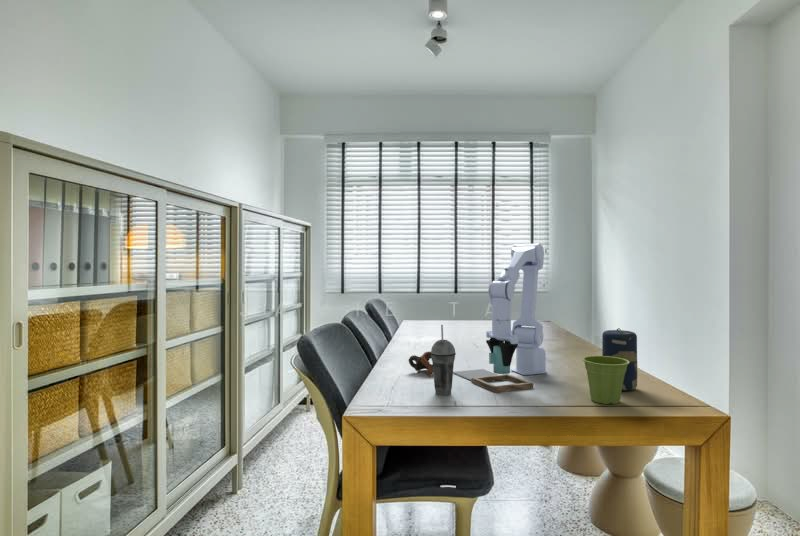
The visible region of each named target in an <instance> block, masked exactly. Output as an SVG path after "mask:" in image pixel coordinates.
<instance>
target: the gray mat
mask: <svg viewBox="0 0 800 536" xmlns="http://www.w3.org/2000/svg"><path fill="white" fill-rule="evenodd" d="M453 375H456V376H458V377H461V378H462V379H465V380H467V381H469V382H470V381H471V382H472V378H474V377H484V376H493V375H499V374H496V373H494V372H493V371H489V370H487V369H484V368H481V369H469V370H461V371H460V370H458V371H453Z"/></svg>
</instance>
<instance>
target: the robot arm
mask: <svg viewBox="0 0 800 536" xmlns="http://www.w3.org/2000/svg"><path fill="white" fill-rule="evenodd" d="M510 257H511V259H510V261H509V264H508V265H507V266H504V267H503V269H502V270H501V272H500V273H499V275H498V277H497V278H496V280H493V281H492V282H490V283H489V285H488V297H489V303H490V305H491V315H492V316H491V331H486V333H485V334H486V338H488V339H486V340H485V342H486V344H487V346H488V348H489V351H490V353H493V346H494V345H499V346H500V349H501V352H502V361H503V366H510V367H511V364H512V360H513V357H514V353H515V354H516V355H515V357H516V358H515V360H516V361H515V362H516V363H515V364H516V367H515V368H512V369H511V368H510V372H514V373H517V374H520V375H523V376H529V375H539V374H547V373H548V371H547V369H546V368H547V367H546V366H547V365H546V363H547V361H546V360H547V358H546V355H547V354H546V350H545V349H544V347H543V346H541V345H542V344H543V342H544V329H543V328H544V326H543V324H542V323H541V322H540V321H539V320H538V319H537V318H536V307H537V295H538V294H537V293H538V279H539V278H538V277H539V271H541V270H542V269H543V268H544V263H545V262H544V259H545V251H544V247H543V245H542V243H539V242H538V243H521V244H519V243H514V244H513V245H512V246H511V249H510ZM520 271H522V272H523V279H522V280H523V281H522V292H521V303H520V304H521V305H520V315H519V316H520V317H519V318H517V319H516V320H514V321H513V323H512V300H513V298H514V295H515V290H516V284H517V282H518V280H519V279H520V277H521V274H520ZM515 351H516V352H515Z"/></svg>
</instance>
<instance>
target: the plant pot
mask: <svg viewBox="0 0 800 536" xmlns="http://www.w3.org/2000/svg"><path fill="white" fill-rule="evenodd" d="M581 359H582V361H583V362H584V366H585V370H586V375H587V380H588V381H587V382H588V387H589V393H590V399H591V400H592V401H593V402H595V403H598V404H602V403H603V404H602V405H610V404H612V405H617V404H619V403H620V402H621V398H622V397H621V396H622V395H621V394H622V391H623V390H622V386H623V381H624V375H625V372H626V369H627V365H628V364H629V363H630V362H629V361H628V360H626V359H622V358H617V357H610V356H602V355H587V356H584V357H581Z"/></svg>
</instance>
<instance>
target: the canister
mask: <svg viewBox="0 0 800 536" xmlns="http://www.w3.org/2000/svg"><path fill="white" fill-rule="evenodd" d="M601 337H602V338H601V339H602V340H601V341H602V342H601V343H602V344H601V346H602V348H601V350H602V351H601V353H602V354H601V356H610V357H617V358H622V359H626V360H628V361H629V362H630V363H629V364H628V365H627V369H626V372H625V375H624V381H623V386H622V391H632V390H635V389H636V388H637V387H638V335H637V333H635V331H634V332H633V331H630V330H622V329H621V328H620V327H618V328H617V329H609V330H605V331H603V332H602V336H601Z"/></svg>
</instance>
